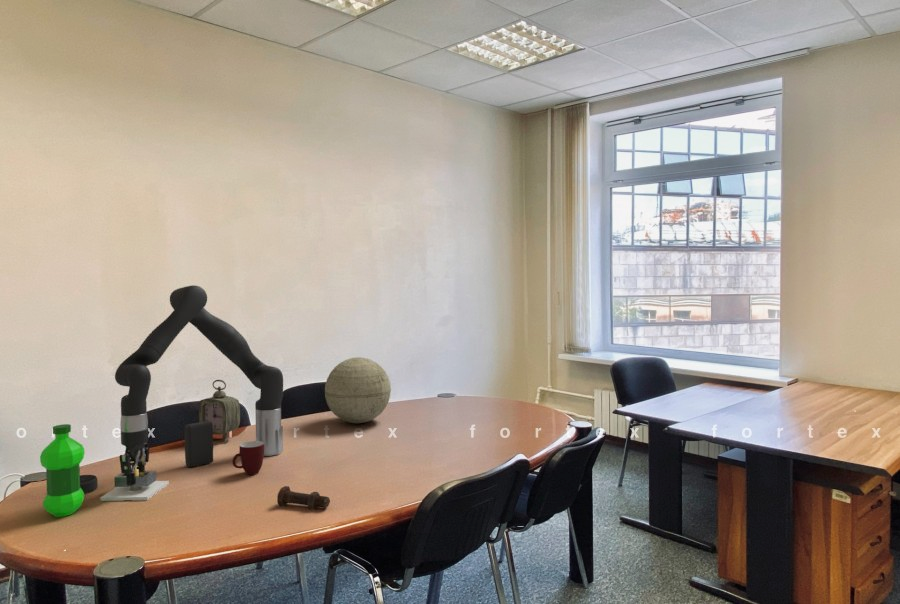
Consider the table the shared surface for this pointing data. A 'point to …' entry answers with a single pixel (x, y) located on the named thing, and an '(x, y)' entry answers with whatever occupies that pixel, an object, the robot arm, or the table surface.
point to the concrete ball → (357, 390)
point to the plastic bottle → (62, 473)
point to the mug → (250, 456)
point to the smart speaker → (88, 483)
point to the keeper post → (134, 491)
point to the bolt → (302, 498)
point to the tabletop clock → (220, 412)
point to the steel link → (136, 479)
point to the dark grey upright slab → (198, 443)
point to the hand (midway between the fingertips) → (135, 481)
